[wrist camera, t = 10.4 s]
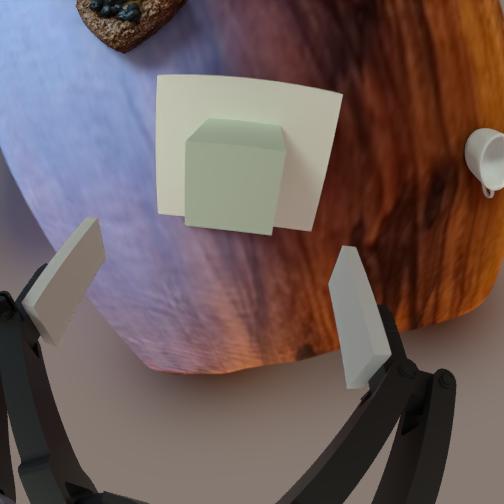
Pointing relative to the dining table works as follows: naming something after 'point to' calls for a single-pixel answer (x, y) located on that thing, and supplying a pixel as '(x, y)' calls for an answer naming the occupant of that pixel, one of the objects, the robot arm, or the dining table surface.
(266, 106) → the serving stand
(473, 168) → the teacup
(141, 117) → the dining table surface
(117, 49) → the pastry
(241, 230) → the sage block
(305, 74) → the dining table surface
